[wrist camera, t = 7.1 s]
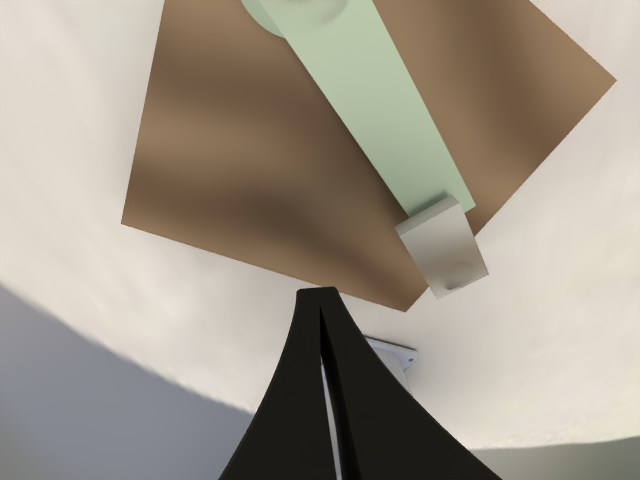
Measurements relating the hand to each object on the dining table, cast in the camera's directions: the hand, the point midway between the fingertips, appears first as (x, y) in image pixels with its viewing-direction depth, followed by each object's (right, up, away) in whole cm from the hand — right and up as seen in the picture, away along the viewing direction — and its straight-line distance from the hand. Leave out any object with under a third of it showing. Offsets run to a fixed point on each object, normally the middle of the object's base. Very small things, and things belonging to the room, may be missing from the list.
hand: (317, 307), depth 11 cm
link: (+2, +9, +3) cm, 10 cm away
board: (+2, +8, +6) cm, 10 cm away
